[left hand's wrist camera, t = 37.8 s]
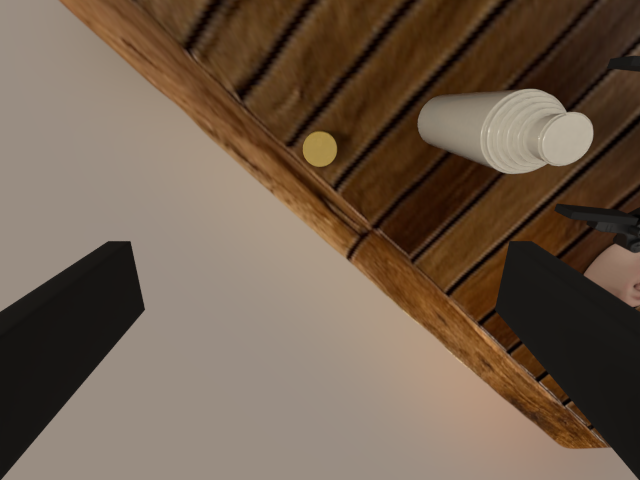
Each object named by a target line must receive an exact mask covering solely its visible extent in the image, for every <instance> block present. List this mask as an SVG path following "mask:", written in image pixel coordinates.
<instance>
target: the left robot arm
mask: <svg viewBox="0 0 640 480" xmlns="http://www.w3.org/2000/svg"><path fill="white" fill-rule="evenodd" d="M144 310H145V308H144V303H143V298H142V294H141V289H140V284H139V279H138V275H137V270H136V265H135V261H134V256H133V251H132V246H131V242H130V241H108V242H106V243H105V244H103V245H102V246H100V247H99V248H97V249H96V250H94V251H93V252H91V253H90V254H88V255H87V256H85V257H84V258H82V259H80V260H79V261H77V262H76V263H74V264H73V265H71V266H70V267H68V268H67V269H65V270H64V271H62V272H61V273H59V274H58V275H56V276H54V277H53V278H51V279H50V280H48V281H47V282H45V283H44V284H42V285H41V286H39V287H38V288H36V289H35V290H33V291H32V292H30V293H28V294H27V295H25V296H24V297H22V298H21V299H19V300H18V301H16V302H15V303H13V304H12V305H10V306H9V307H7V308H6V309H4V310H2V311H1V312H0V480H1V479H2V478H3V477H4V476H5V474H6V473H7V472H8V471H9V470H10V469H11V467H12V466H13V465H14V464H15V463H16V461H17V460H18V459H19V458H20V457H21V456H22V454H23V453H24V452H25V451H26V450H27V448H28V447H29V446H30V445H31V444H32V443H33V441H34V440H35V439H36V438H37V437H38V435H39V434H40V433H41V432H42V431H43V430H44V428H45V427H46V426H47V425H48V424H49V422H50V421H51V420H52V419H53V418H54V417H55V415H56V414H57V413H58V412H59V411H60V409H61V408H62V407H63V406H64V405H65V404H66V402H67V401H68V400H69V399H70V398H71V396H72V395H73V394H74V393H75V392H76V391H77V389H78V388H79V387H80V386H81V385H82V383H83V382H84V381H85V380H86V379H87V378H88V376H89V375H90V374H91V373H92V372H93V370H94V369H95V368H96V367H97V366H98V365H99V363H100V362H101V361H102V360H103V359H104V357H105V356H106V355H107V354H108V353H109V352H110V350H111V349H112V348H113V347H114V346H115V344H116V343H117V342H118V341H119V340H120V339H121V337H122V336H123V335H124V334H125V333H126V331H127V330H128V329H129V328H130V327H131V326H132V324H133V323H134V322H135V321H136V320H137V318H138V317H139V316H140V315H141V314H142V313H143V311H144ZM495 310H496V311H497V313H498V314H499V315H500V316H501V317H502V318H503V320H504V321H505V322H506V323H507V324H508V326H509V327H510V328H511V329H512V330H513V331H514V333H515V334H516V335H517V336H518V337H519V339H520V340H521V341H522V342H523V343H524V344H525V346H526V347H527V348H528V349H529V350H530V352H531V353H532V354H533V355H534V356H535V357H536V359H537V360H538V361H539V362H540V363H541V365H542V366H543V367H544V368H545V369H546V370H547V372H548V373H549V374H550V375H551V376H552V378H553V379H554V380H555V381H556V382H557V383H558V385H559V386H560V387H561V388H562V389H563V391H564V392H565V393H566V394H567V395H568V396H569V398H570V399H571V400H572V401H573V402H574V404H575V405H576V406H577V407H578V408H579V409H580V411H581V412H582V413H583V414H584V415H585V417H586V418H587V419H588V420H589V421H590V422H591V424H592V425H593V426H594V427H595V428H596V430H597V431H598V432H599V433H600V434H601V435H602V437H603V438H604V439H605V440H606V441H607V443H608V444H609V445H610V446H611V447H612V448H613V450H614V451H615V452H616V453H617V454H618V456H619V457H620V458H621V459H622V460H623V461H624V463H625V464H626V465H627V466H628V467H629V469H630V470H631V471H632V472H633V473H634V474H635V476H636V477H637V478H638V479H639V480H640V312H639V311H638V310H636V309H634V308H633V307H631V306H630V305H628V304H627V303H625V302H624V301H622V300H621V299H619V298H618V297H616V296H615V295H613V294H612V293H610V292H608V291H607V290H605V289H604V288H602V287H601V286H599V285H598V284H596V283H595V282H593V281H592V280H590V279H589V278H587V277H586V276H584V275H582V274H581V273H579V272H578V271H576V270H575V269H573V268H572V267H570V266H569V265H567V264H566V263H564V262H563V261H561V260H560V259H558V258H556V257H555V256H553V255H552V254H550V253H549V252H547V251H546V250H544V249H543V248H541V247H540V246H538V245H537V244H535V243H534V242H532V241H510V242H509V246H508V251H507V256H506V261H505V265H504V270H503V275H502V279H501V284H500V289H499V293H498V298H497V303H496V308H495Z"/></svg>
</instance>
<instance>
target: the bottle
mask: <svg viewBox="0 0 640 480" xmlns="http://www.w3.org/2000/svg"><path fill="white" fill-rule="evenodd" d="M418 130H419V133H420V135H421V137H422V138H423V140H424V141H425V142H427V143H428V144H430V145H432V146H435V147H437V148H440V149H443V150H445V151H448V152H451V153H453V154H456V155H458V156H461V157H464V158H466V159H469V160H472V161H474V162H477V163H480V164H482V165H485V166H487V167H490V168H493V169H495V170H498V171H501V172H503V173H508V174H518V173H526V172H530V171H534V170H536V169H538V168H540V167H542V166H544V165H546V164H547V163H548V164H550V165H555V166H563V165H568V164H570V163H573V162H575V161H577V160H578V159H580V158H581V157H582V156H583V155H584V154H585V153H586V152H587V150H588V149H589V147H590V145H591V143H592V139H593V126H592V123H591V121H590V120H589V119H588V118H587V117H586V116H585V115H583V114H581V113H577V112H566V110H565V108H564V107H563V106H562V104H561V103H560V102H559V100H557V99H556V98H555V97H554V96H552V95H550V94H548V93H546V92H544V91H541V90H537V89H521V90H506V91H491V92H476V93H461V94H446V95H439V96H436V97H434V98H432V99H431V100H429V101H428V102H427V103H426V104H425V105H424V107H423V108H422V110H421V112H420V114H419V118H418Z"/></svg>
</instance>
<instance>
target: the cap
mask: <svg viewBox="0 0 640 480" xmlns="http://www.w3.org/2000/svg"><path fill="white" fill-rule="evenodd" d="M336 153H337V145H336V142H335V140H334V138H333V137H332V135H330V134H329V133H327V132H325V131H315V132H312V133H311V134H309V135H308V137H307V138H306V139H305V142H304V145H303V154H304V157H305V158H306V160H307V161H308V162H309V163H310V164H312V165H314V166H318V167H322V166H326V165H328V164H330V163H331V162H332V161H333V160H334V158H335V156H336Z"/></svg>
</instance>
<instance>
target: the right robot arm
mask: <svg viewBox="0 0 640 480" xmlns="http://www.w3.org/2000/svg"><path fill="white" fill-rule="evenodd" d="M607 68H611V69H620V70H629V71H639V72H640V56H629V57H621V58H614V59H610V62H609V64H608V67H607ZM554 211H556V212H558V213H560V214H562V215H564V216H566V217H568V218H570V219H577V220H587V221H588V222H587V225H589V226H590V227H592V228H594V229H596V230H598V231H602V232H612V233H617V235H616V236H615V237H614V238H613V242H614V243H615V244H617V245H619V246H621V247H623V248H624V249H626V250H628V251H630V252H632V253H638V252H640V207H639V208H637V209H635V210H633V211H632V212H630V213H628V214H627V213H624V212H622V211H619V210H613V209H603V208H593V207H584V206H574V205H564V204H557V205H556V207H555V210H554Z"/></svg>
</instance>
